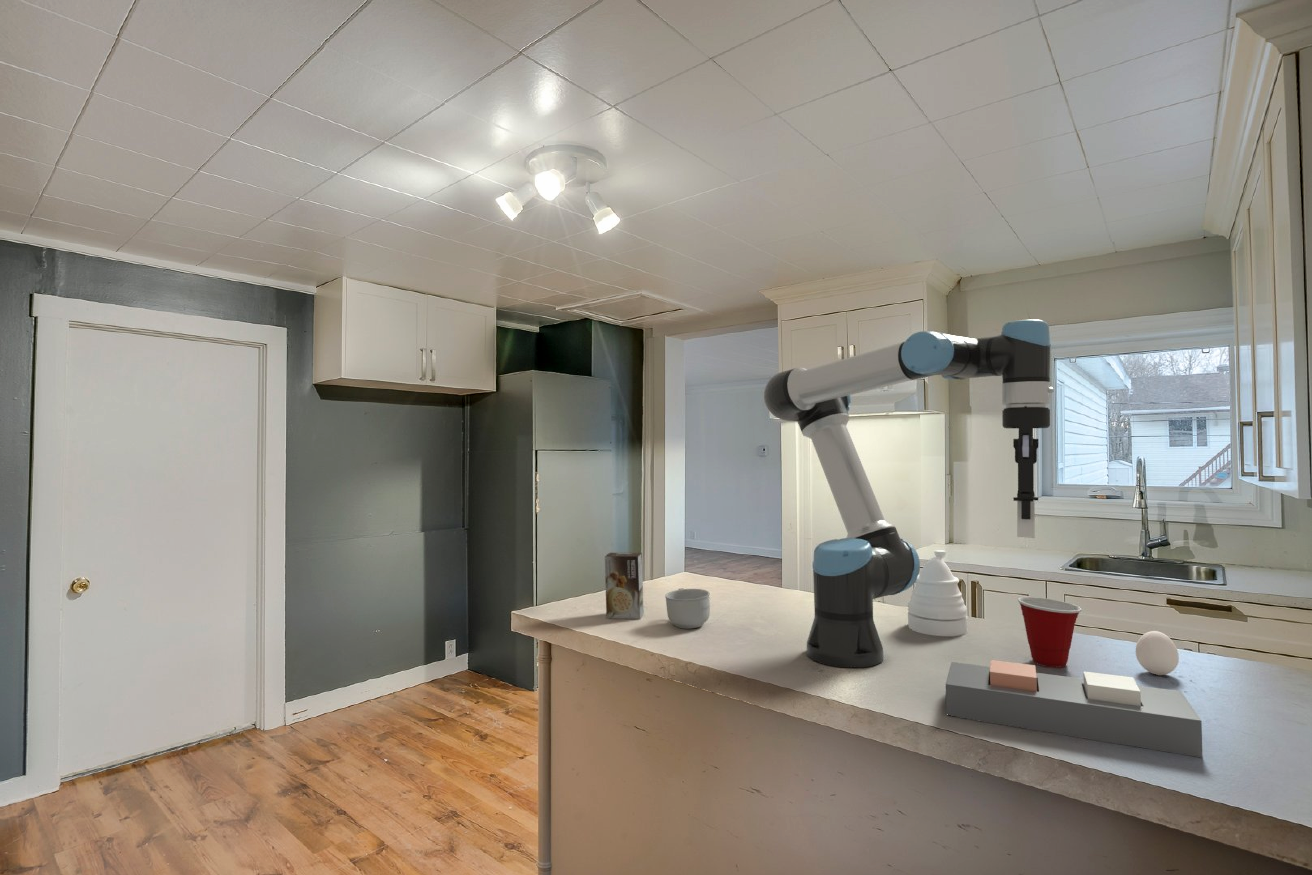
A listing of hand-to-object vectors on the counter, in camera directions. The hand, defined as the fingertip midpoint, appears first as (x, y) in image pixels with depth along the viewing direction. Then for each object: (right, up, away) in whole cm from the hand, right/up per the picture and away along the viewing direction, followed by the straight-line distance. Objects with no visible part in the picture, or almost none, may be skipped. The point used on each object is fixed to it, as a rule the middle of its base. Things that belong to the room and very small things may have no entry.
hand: (1025, 536), depth 118 cm
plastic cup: (+10, -27, +10) cm, 30 cm away
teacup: (-59, -28, +43) cm, 78 cm away
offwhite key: (+2, -23, -20) cm, 30 cm away
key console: (-4, -26, -17) cm, 31 cm away
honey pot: (-1, -27, +35) cm, 44 cm away
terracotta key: (-10, -23, -13) cm, 28 cm away
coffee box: (-75, -29, +51) cm, 95 cm away
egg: (+26, -26, +3) cm, 37 cm away
